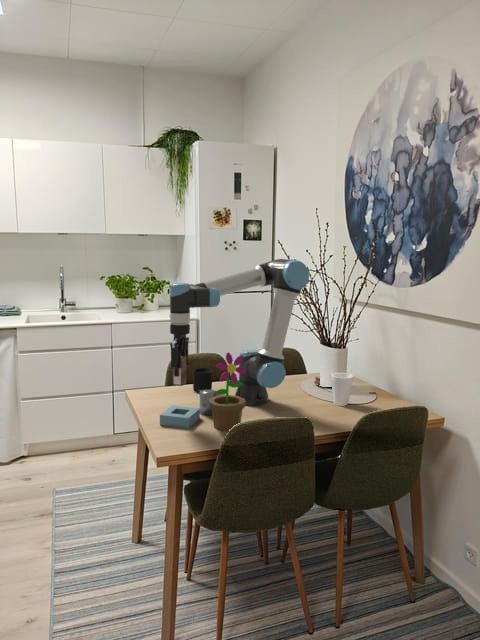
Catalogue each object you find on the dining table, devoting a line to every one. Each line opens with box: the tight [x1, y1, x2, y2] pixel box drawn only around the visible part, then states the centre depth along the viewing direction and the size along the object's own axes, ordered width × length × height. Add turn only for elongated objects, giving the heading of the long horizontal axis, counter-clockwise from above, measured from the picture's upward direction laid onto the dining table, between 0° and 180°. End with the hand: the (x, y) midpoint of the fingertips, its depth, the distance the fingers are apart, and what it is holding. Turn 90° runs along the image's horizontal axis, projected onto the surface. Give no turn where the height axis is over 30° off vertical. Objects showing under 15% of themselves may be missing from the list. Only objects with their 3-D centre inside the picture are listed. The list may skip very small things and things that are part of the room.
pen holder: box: [192, 367, 213, 394], centre depth 242 cm, size 9×9×10 cm
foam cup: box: [330, 372, 354, 407], centre depth 225 cm, size 10×9×13 cm
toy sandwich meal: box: [314, 375, 321, 386], centre depth 256 cm, size 12×14×5 cm
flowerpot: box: [209, 352, 247, 432], centre depth 195 cm, size 14×14×30 cm
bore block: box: [159, 405, 201, 429], centre depth 201 cm, size 12×12×4 cm
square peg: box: [172, 355, 187, 387], centre depth 198 cm, size 4×4×11 cm
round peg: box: [199, 389, 217, 416], centre depth 211 cm, size 7×7×9 cm
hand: (179, 382), depth 199 cm, fingers closed on square peg, 4 cm apart
